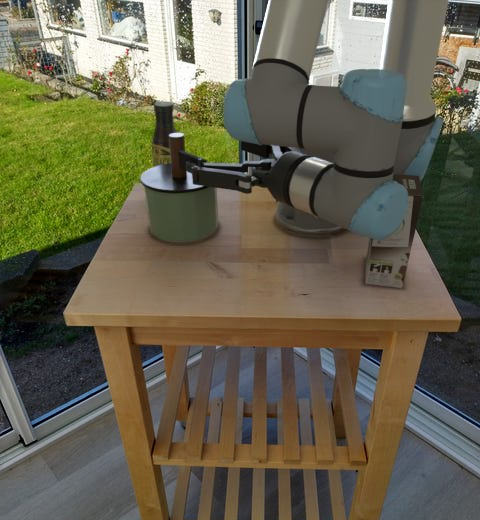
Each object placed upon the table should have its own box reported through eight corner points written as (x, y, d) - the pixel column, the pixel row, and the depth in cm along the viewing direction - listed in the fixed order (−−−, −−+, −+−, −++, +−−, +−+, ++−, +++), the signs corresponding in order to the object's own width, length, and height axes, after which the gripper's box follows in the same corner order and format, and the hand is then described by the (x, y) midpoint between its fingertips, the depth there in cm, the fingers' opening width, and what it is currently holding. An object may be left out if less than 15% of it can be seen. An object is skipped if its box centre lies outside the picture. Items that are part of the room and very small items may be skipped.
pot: (221, 215, 106) (220, 167, 99) (212, 245, 95) (209, 193, 88) (159, 213, 107) (154, 165, 100) (142, 242, 96) (135, 190, 90)
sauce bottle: (150, 194, 115) (139, 104, 103) (168, 186, 119) (159, 98, 107) (171, 201, 112) (163, 108, 100) (189, 192, 116) (182, 102, 104)
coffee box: (403, 289, 82) (424, 196, 72) (364, 284, 83) (379, 192, 74) (401, 262, 89) (420, 174, 79) (365, 258, 90) (379, 171, 81)
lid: (223, 169, 100) (222, 124, 95) (212, 198, 88) (210, 148, 83) (152, 167, 101) (147, 123, 96) (131, 195, 90) (124, 146, 84)
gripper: (240, 233, 67) (154, 190, 80) (355, 185, 80) (265, 155, 93) (239, 179, 63) (148, 143, 76) (361, 138, 76) (266, 113, 89)
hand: (212, 150), depth 85 cm, fingers open, 13 cm apart
